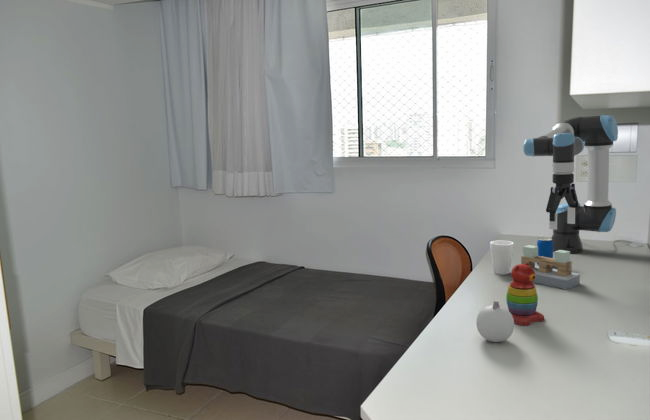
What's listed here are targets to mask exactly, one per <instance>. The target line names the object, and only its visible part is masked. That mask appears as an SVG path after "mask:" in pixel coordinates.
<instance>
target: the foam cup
mask: <svg viewBox="0 0 650 420" xmlns="http://www.w3.org/2000/svg"><path fill="white" fill-rule="evenodd" d="M489 245H490V246H489V248H490V252H491V254H490V255H491V261H492V266H493V267H492V268H493V273H494V274H497V275H502V276H503V275H508V274H510V273H511V265H512V261H513V260H512V259H513V254H514V253H513V252H514V249H515V243H514V242H513V241H511V240H502V239H501V240H492V241H490V242H489Z"/></svg>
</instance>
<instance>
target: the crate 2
mask: <svg viewBox="0 0 650 420" xmlns="http://www.w3.org/2000/svg"><path fill="white" fill-rule="evenodd" d="M553 258H554V262H559V263H567V262H570V261H571V253H570V251H565V250H558V251H554V254H553Z"/></svg>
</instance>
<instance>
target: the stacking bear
mask: <svg viewBox="0 0 650 420" xmlns="http://www.w3.org/2000/svg"><path fill="white" fill-rule="evenodd" d="M510 273H511V278H512V281H511V282H510V283H509V285H508V287H507V292H506V299H505V300H506V305H507V310H508V311H509V312H510V313H511V315H512V317H513V319H514V324H516V325H519V326H530V325H531V324H532V323H534V322H543V321H545V319H546V318H545V315H544V314H543V313H541V312H539V311H537V307H538V300H539V295H538V293H537V289H536V284H535V283H534V282H533V281H534V280H535V277H536V274H535V272H534V271H533V269H532V268H531V267H530V266H529V265H528V263H525V264H521V263H520V264H516V265H514V266H513V267H512V269H511V270H510Z"/></svg>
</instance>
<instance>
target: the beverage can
mask: <svg viewBox="0 0 650 420" xmlns="http://www.w3.org/2000/svg"><path fill="white" fill-rule="evenodd" d="M551 238H552V237H551ZM551 238H550V237H539V238H538V240H536V246H538V256H542V257H548V258H554V251H553V241H552V239H551ZM536 265H537V266H539V263H536Z"/></svg>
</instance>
